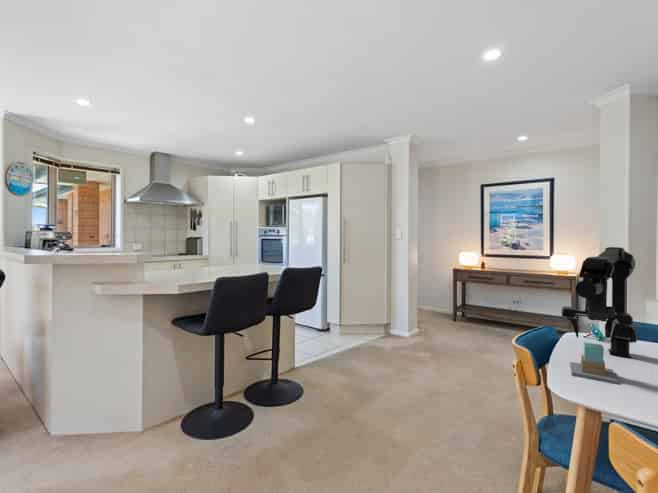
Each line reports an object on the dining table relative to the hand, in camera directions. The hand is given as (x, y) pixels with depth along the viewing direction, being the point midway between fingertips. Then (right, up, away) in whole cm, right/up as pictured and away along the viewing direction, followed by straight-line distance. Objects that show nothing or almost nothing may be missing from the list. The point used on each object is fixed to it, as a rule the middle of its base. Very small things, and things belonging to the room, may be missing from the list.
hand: (593, 339), depth 117 cm
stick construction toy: (+31, -10, +39) cm, 51 cm away
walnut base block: (0, -12, +1) cm, 12 cm away
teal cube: (0, -7, 0) cm, 7 cm away
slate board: (0, -12, +1) cm, 12 cm away
